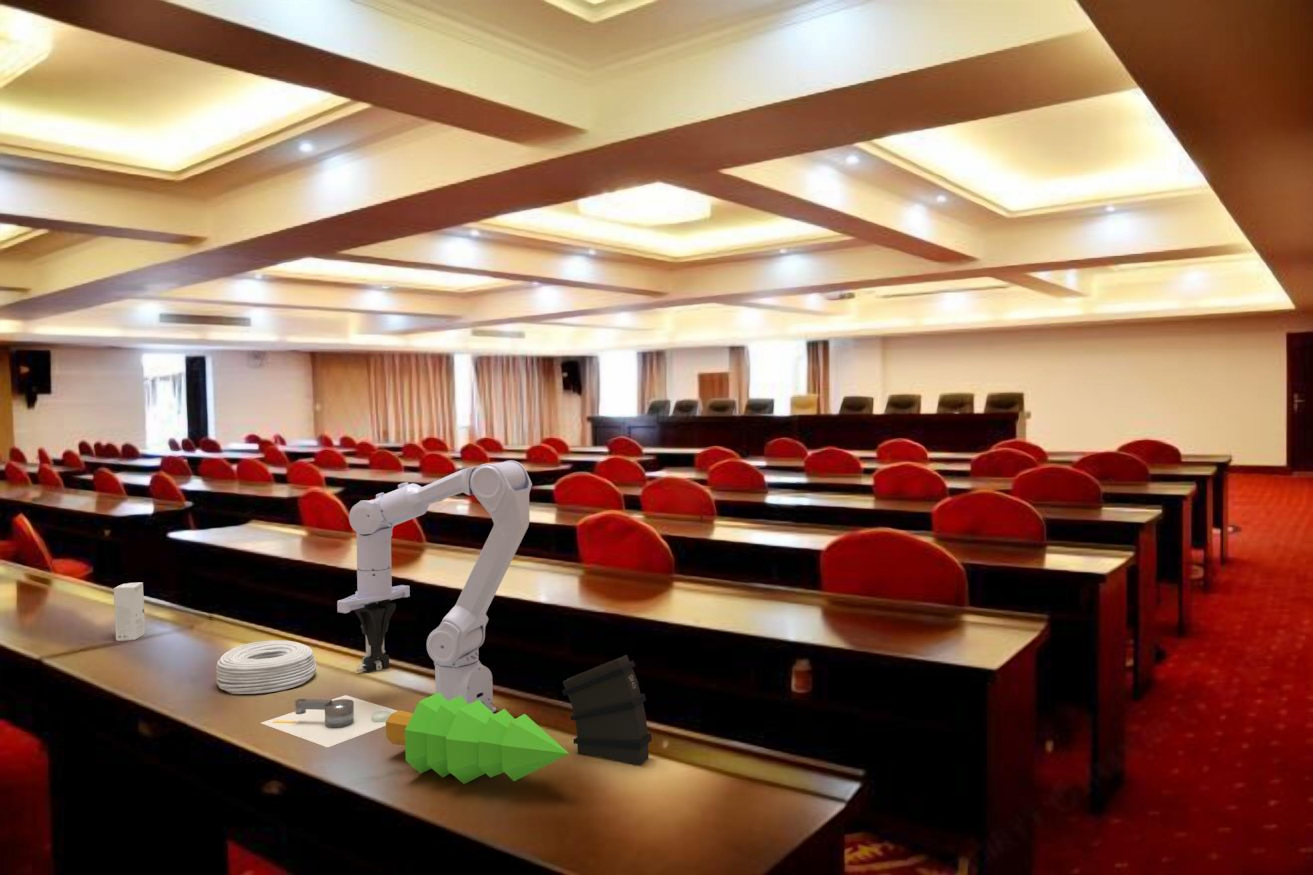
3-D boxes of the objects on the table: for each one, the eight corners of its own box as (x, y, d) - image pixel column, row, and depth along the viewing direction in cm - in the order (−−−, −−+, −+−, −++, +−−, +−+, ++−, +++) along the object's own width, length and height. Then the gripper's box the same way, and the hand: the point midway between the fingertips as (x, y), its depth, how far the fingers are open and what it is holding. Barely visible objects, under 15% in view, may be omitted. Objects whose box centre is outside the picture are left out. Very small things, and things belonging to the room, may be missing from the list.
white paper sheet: (413, 721, 141) (412, 710, 141) (327, 753, 128) (327, 741, 128) (345, 700, 151) (345, 690, 151) (260, 728, 138) (260, 717, 138)
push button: (363, 676, 165) (362, 625, 164) (350, 671, 168) (349, 620, 168) (394, 668, 169) (393, 619, 169) (381, 663, 173) (380, 614, 173)
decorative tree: (407, 671, 128) (578, 692, 115) (430, 731, 132) (598, 758, 119) (356, 723, 119) (535, 752, 105) (382, 786, 123) (558, 821, 110)
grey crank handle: (358, 717, 139) (358, 696, 139) (346, 727, 135) (346, 706, 135) (303, 715, 140) (302, 695, 140) (289, 725, 136) (288, 704, 136)
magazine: (659, 759, 121) (618, 659, 123) (587, 783, 126) (549, 687, 129) (670, 750, 124) (630, 653, 127) (600, 773, 130) (563, 679, 132)
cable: (259, 665, 173) (258, 636, 173) (335, 671, 169) (335, 640, 169) (194, 693, 156) (194, 661, 156) (278, 700, 152) (277, 667, 152)
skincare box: (136, 640, 192) (134, 586, 191) (114, 641, 191) (112, 587, 190) (146, 633, 198) (145, 581, 197) (124, 634, 197) (123, 582, 196)
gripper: (389, 559, 157) (390, 632, 157) (324, 573, 144) (325, 652, 145) (417, 562, 153) (418, 637, 154) (353, 576, 141) (354, 658, 141)
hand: (375, 645), depth 149 cm, fingers closed
